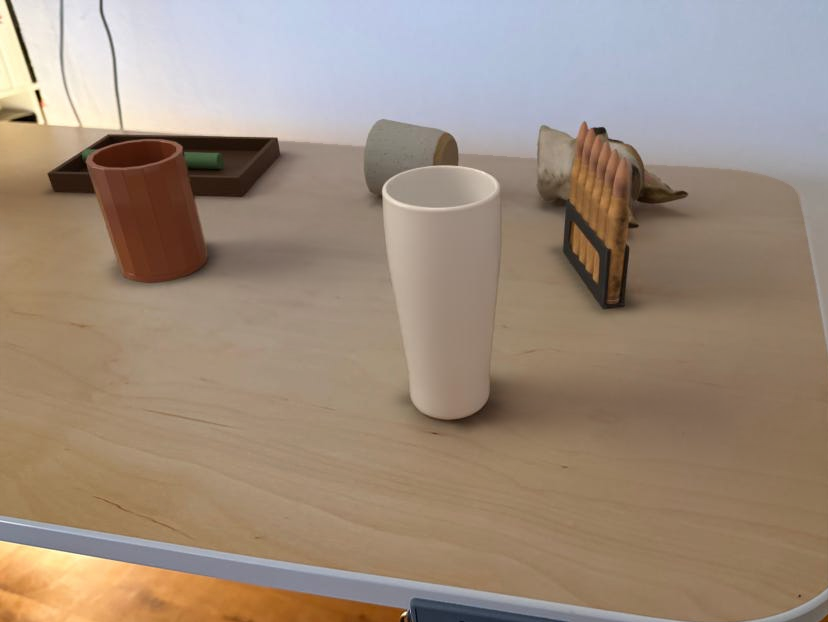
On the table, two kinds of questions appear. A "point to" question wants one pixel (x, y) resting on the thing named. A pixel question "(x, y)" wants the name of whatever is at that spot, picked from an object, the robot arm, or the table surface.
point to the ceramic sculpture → (559, 162)
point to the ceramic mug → (404, 151)
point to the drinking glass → (445, 282)
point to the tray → (234, 179)
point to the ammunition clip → (598, 218)
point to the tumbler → (149, 208)
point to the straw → (188, 159)
